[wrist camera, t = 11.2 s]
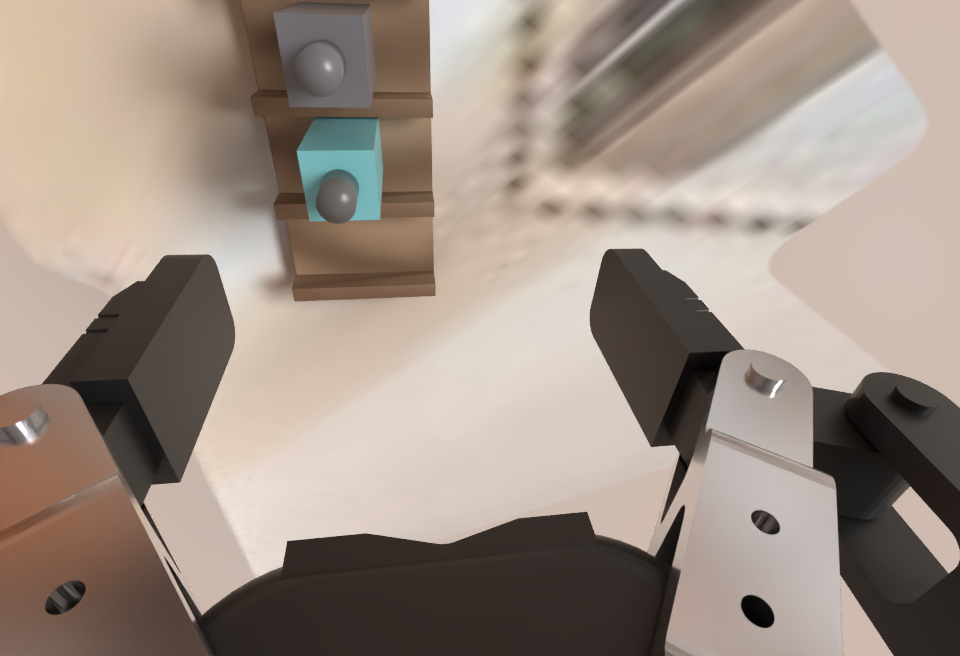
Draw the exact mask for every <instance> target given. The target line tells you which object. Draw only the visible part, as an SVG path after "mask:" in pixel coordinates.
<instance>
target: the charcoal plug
mask: <svg viewBox="0 0 960 656" xmlns="http://www.w3.org/2000/svg"><path fill="white" fill-rule="evenodd" d="M273 15H274V21H275V26H276V32H277V38H278V44H279V49H280V55H281V61H282V66H283V72H284V78H285V84H286V89H287V95H288V101H289V107H336V108H371V103H372V97H373V92H374V86H375V81H376V68H375V55H374V42H373V28H372V15H371V4H348V3H322V2H301V3H298V4H295V5H293V6H290V7H287V8H284V9H282V10H279V11H276V12H274V13H273Z"/></svg>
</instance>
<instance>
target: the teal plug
mask: <svg viewBox="0 0 960 656" xmlns="http://www.w3.org/2000/svg"><path fill="white" fill-rule="evenodd" d="M297 155H298V161H299V166H300V172H301V177H302V183H303V188H304V194H305V199H306V204H307V210H308V215H309V221H310V222H312V221H328V222H331V223H335V224H341V223H345V222H347V221H351V220H380V213H381V197H382V181H383V161H382V149H381V137H380V125H379V117H315V118H314V120H313V122H312V123H311V125H310V127H309V129H308V131H307V133H306V134H305V136H304V138H303V140H302V142H301V144H300V146H299V147H298V149H297Z"/></svg>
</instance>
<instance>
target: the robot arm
mask: <svg viewBox="0 0 960 656" xmlns="http://www.w3.org/2000/svg"><path fill="white" fill-rule="evenodd" d="M98 316H99V317H98V319H94V321H93V322H92V323H91V324H90V326H89V327H88V328H87V329H86V334H83V335H81V337H80V338H79V339H78V340H77V342H76V343H75V344H74V345H73V347H72V348H71V349H70V350H69V351H68V353H67V354H66V355H65V356H64V358H63V359H62V360H61V361H60V362H59V364H58V365H57V366H56V367H55V369H54V370H53V371H52V372H51V374H50V375H49V376H48V377H47V379H46V380H45V381H44V382H43V383H42V385H35V386H29V387H25V388H21V389H17V390H14V391H11V392H8V393H6V394H3V395H1V396H0V656H843V637H842V612H841V590H840V575H841V577H842V578H843V580H844V581H845V582H846V584H847V586H848V587H849V588H850V590H851V592H852V593H853V594H854V596H855V598H856V599H857V601H858V602H859V604H860V605H861V607H862V608H863V610H864V611H865V613H866V614H867V616H868V617H869V619H870V620H871V622H872V623H873V625H874V626H875V628H876V629H877V631H878V632H879V634H880V636H881V637H882V639H883V640H884V642H885V643H886V645H887V646H888V648H889V649H890V651H891V652H892V654H893V655H894V656H960V561H959V564H958V566H957V567H956V568H955V569H954V570H953V571H952V572H950V573H949V574H948V573H947V571H946V570H945V569H944V568H943V566H942V565H941V564H940V563H939V562H938V561H937V559H936V558H935V557H934V556H933V554H932V553H931V552H930V551H929V550H928V548H927V547H926V546H925V545H924V544H923V542H922V541H921V540H920V539H919V538H918V536H917V535H916V534H915V533H914V532H913V531H912V529H911V528H910V527H909V526H908V525H907V523H906V522H905V521H904V520H903V519H902V517H901V516H900V515H899V514H898V513H897V511H896V510H895V509H894V508H893V507H892V504H893V503H894V502H895V501H896V500H897V499H898V498H899V497H900V496H901V495H902V494H903V493H904V492H905V491H906V490H907V489H908V488H909V487H910V486H911V487H912V488H913V490H914V491H915V492H916V493H917V494H918V495H919V496H920V497H921V498H922V500H923V501H924V502H925V503H926V504H927V505H928V506H929V507H930V508H931V510H932V511H933V512H934V513H935V514H936V515H937V516H938V517H939V518H940V519H941V521H942V522H943V523H944V524H945V525H946V526H947V527H948V528H949V530H950V531H951V532H952V533H953V535H954V536H955V538H956V540H957V542H958V545H959V549H960V408H959V407H958V406H957V405H956V404H954V403H953V402H952V401H951V400H950V399H948V398H947V397H946V396H944V395H943V394H941V393H940V392H938V391H937V390H935V389H933V388H931V387H930V386H928V385H926V384H924V383H921V382H919V381H917V380H914V379H912V378H909V377H906V376H902V375H898V374H893V373H886V372H877V373H871V374H869V375H867V376H865V377H864V378H863V380H862V381H861V383H860V384H859V385H858V387H857V388H856V390H855V391H854V392H853V394H851V393H845V392H839V391H834V390H828V389H822V388H816V387H812V386H811V383H810V382H809V380H808V379H807V377H806V376H805V375H804V374H803V373H802V372H801V371H800V370H798V369H797V368H796V367H794V366H793V365H792V364H790V363H788V362H787V361H785V360H783V359H781V358H779V357H776V356H774V355H771V354H768V353H765V352H761V351H756V350H745V349H744V348H743V347H742V346H741V345H740V344H739V342H738V341H737V340H736V339H735V338H734V337H733V336H732V335H731V333H730V332H729V331H728V330H727V329H726V328H725V327H724V326H723V324H722V323H721V322H720V321H719V320H718V319H717V318H716V317H715V315H714V314H713V313H712V312H709V309H708V308H707V306H706V305H705V304H704V303H703V302H702V301H701V300H698V296H697V295H696V294H695V293H694V292H693V291H692V289H691V288H690V287H689V286H688V285H687V284H686V283H685V282H684V281H682V280H680V279H679V278H677V277H675V276H674V275H672V274H671V273H669V272H667V271H666V270H662V269H661V268H660V267H659V266H658V265H657V264H656V262H655V261H654V260H653V259H652V258H651V257H650V255H649V254H648V253H647V252H646V251H645V250H644V249H609V250H607V251H606V252H605V254H604V256H603V258H602V262H601V266H600V270H599V275H598V279H597V283H596V287H595V292H594V296H593V300H592V304H591V309H590V327H591V331H592V334H593V337H594V339H595V341H596V342H597V344H598V346H599V348H600V350H601V352H602V354H603V356H604V358H605V360H606V362H607V363H608V365H609V367H610V369H611V371H612V373H613V375H614V377H615V379H616V381H617V383H618V385H619V386H620V388H621V390H622V392H623V394H624V396H625V398H626V400H627V402H628V404H629V406H630V407H631V409H632V411H633V413H634V415H635V417H636V419H637V421H638V423H639V425H640V427H641V428H642V430H643V432H644V434H645V436H646V438H647V440H648V442H649V444H650V446H651V447H657V446H669V445H675V446H676V448H677V450H678V451H679V454H678V456H677V458H676V460H675V463H674V465H673V469H672V472H671V475H670V479H669V482H668V486H667V489H666V493H665V496H664V500H663V503H662V506H661V510H660V513H659V517H658V520H657V523H656V527H655V530H654V534H653V537H652V540H651V543H650V546H649V548H648V551H647V552H645V551H643V550H641V549H639V548H637V547H635V546H632V545H630V544H627V543H624V542H622V541H619V540H616V539H612V538H609V537H605V536H601V535H595V533H594V530H593V528H592V525H591V522H590V519H589V516H588V513H587V512H580V513H570V514H560V515H550V516H540V517H529V518H519V519H516V520H513V521H511V522H508V523H505V524H502V525H500V526H497V527H494V528H491V529H489V530H486V531H483V532H481V533H478V534H475V535H472V536H469V537H467V538H464V539H461V540H459V541H456V542H453V543H449V544H434V543H427V542H420V541H414V540H407V539H400V538H393V537H386V536H380V535H373V534H356V535H346V536H335V537H325V538H315V539H305V540H295V541H287V546H286V552H285V557H284V563H283V567H281V568H278V569H275V570H273V571H270V572H268V573H266V574H264V575H262V576H260V577H258V578H256V579H253V580H251V581H250V582H248V583H246V584H245V585H243V586H241V587H240V588H238V589H236V590H235V591H233V592H231V593H230V594H229V595H227V596H226V597H225V598H223V599H222V600H221V601H219V602H218V603H217V604H215V605H214V606H212V607H211V608H210V609H209V610H208V611H207V612H206V613H204V611H203V609H202V608H201V606H200V604H199V602H198V601H197V599H196V597H195V595H194V594H193V592H192V590H191V588H190V586H189V585H188V583H187V581H186V579H185V577H184V575H183V573H182V571H181V569H180V568H179V566H178V564H177V562H176V560H175V558H174V556H173V554H172V553H171V551H170V549H169V547H168V545H167V543H166V541H165V539H164V537H163V536H162V534H161V532H160V530H159V528H158V526H157V524H156V522H155V521H154V519H153V517H152V515H151V513H150V511H149V509H148V508H147V506H146V505H145V503H144V499H145V497H146V495H147V493H148V490H149V488H150V486H151V485H152V484H166V483H178V482H180V481H181V479H182V476H183V474H184V471H185V469H186V466H187V464H188V461H189V459H190V456H191V454H192V451H193V449H194V446H195V444H196V441H197V439H198V436H199V434H200V431H201V429H202V426H203V424H204V421H205V419H206V416H207V414H208V411H209V409H210V406H211V404H212V401H213V399H214V396H215V394H216V391H217V389H218V386H219V384H220V381H221V379H222V376H223V374H224V371H225V369H226V366H227V364H228V361H229V359H230V356H231V354H232V351H233V348H234V342H235V327H234V321H233V317H232V314H231V311H230V307H229V304H228V301H227V298H226V294H225V291H224V288H223V284H222V281H221V278H220V274H219V271H218V268H217V265H216V263H215V261H214V259H213V258H212V256H210V255H166V256H164V257H163V258H162V259H161V260H160V262H159V263H158V264H157V266H156V267H155V268H154V270H153V271H152V272H151V274H150V275H149V276H148V278H147V279H146V280H145V281H137V282H135V283H134V284H132V285H131V286H129V287H128V288H126V289H124V290H123V291H121V292H120V293H118V294H117V295H115V296H113V297H112V298H111V300H110V301H109V302H108V303H107V305H106V306H105V307H104V308H103V310H102V311H101V312H100V313H99V314H98Z"/></svg>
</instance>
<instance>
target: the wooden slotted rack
mask: <svg viewBox="0 0 960 656" xmlns="http://www.w3.org/2000/svg"><path fill="white" fill-rule="evenodd" d="M240 1H241V6H242V11H243V16H244V21H245V25H246V30H247V35H248V40H249V45H250V50H251V55H252V60H253V64H254V69H255V74H256V79H257V84H258V89H259V90H258V91H257V92H256V93H255V94H253V95H252V96H251V101H252V106H253V110H254V115H255V116H264V118H265V123H266V128H267V133H268V138H269V142H270V147H271V152H272V157H273V162H274V167H275V172H276V177H277V181H278V186H279V191H280V193H279V195H278V197H277V199H276V201H275V203H274V208H275V212H276V217H277V220H281V219H285V220H286V225H287V230H288V235H289V240H290V245H291V250H292V255H293V259H294V264H295V269H296V274H297V276H296V279H295V282H294V285H293V288H292V291H293V296H294V301H316V300H341V299H367V298H392V297H418V296H435V278H434V263H433V217H434V199H433V193H432V146H431V118H433V100H432V96H431V88H430V29H429V0H240ZM301 2H322V3H348V4H371V15H372V28H373V42H374V55H375V68H376V81H375V86H374V92H373V97H372V103H371V108H336V107H289V101H288V95H287V89H286V84H285V78H284V72H283V66H282V61H281V55H280V49H279V44H278V38H277V32H276V26H275V21H274V15H273V13H274V12H276V11H279V10H282V9H284V8H287V7H290V6H293V5H295V4H298V3H301ZM315 117H379V125H380V137H381V149H382V161H383V181H382V197H381V213H380V220H351V221H347V222H345V223H341V224H335V223H331V222H328V221H312V222H310V221H309V215H308V210H307V204H306V199H305V194H304V188H303V183H302V177H301V172H300V166H299V161H298V155H297V149H298V147H299V146H300V144H301V142H302V140H303V138H304V136H305V134H306V133H307V131H308V129H309V127H310V125H311V123H312V122H313V120H314V118H315Z"/></svg>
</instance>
